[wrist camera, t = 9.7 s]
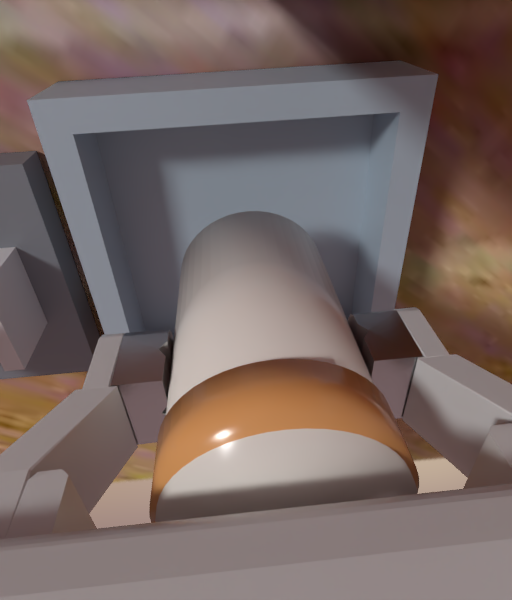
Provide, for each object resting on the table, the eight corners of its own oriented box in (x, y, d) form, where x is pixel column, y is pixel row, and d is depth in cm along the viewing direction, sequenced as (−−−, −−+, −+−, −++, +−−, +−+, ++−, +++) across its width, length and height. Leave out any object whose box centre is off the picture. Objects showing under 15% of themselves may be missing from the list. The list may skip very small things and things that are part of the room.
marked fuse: (321, 326, 14) (400, 567, 8) (188, 338, 13) (172, 593, 8) (328, 201, 11) (452, 420, 5) (165, 213, 11) (117, 454, 5)
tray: (400, 60, 12) (438, 74, 10) (364, 321, 18) (384, 363, 16) (58, 81, 12) (27, 100, 10) (132, 342, 17) (122, 389, 15)
